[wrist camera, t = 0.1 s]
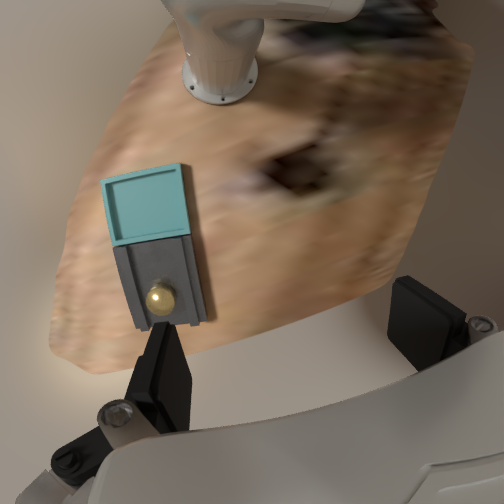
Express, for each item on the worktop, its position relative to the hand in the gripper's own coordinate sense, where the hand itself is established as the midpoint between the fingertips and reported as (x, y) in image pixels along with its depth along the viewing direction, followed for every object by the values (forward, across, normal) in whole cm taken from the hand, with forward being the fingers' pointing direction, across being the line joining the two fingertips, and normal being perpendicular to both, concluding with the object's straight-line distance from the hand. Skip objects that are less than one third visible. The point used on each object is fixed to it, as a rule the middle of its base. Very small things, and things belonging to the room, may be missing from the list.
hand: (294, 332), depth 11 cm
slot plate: (+36, +15, +11) cm, 41 cm away
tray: (+36, +15, -3) cm, 40 cm away
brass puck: (+35, +15, +13) cm, 40 cm away
